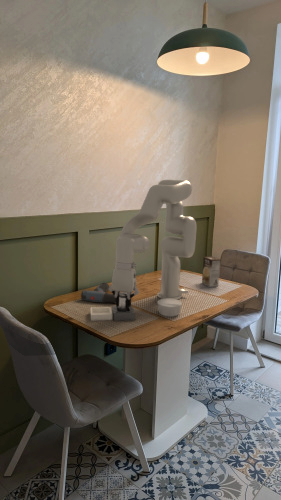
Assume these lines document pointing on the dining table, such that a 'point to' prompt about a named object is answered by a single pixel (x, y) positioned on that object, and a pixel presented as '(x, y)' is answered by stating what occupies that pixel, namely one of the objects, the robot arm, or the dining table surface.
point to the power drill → (99, 294)
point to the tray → (100, 313)
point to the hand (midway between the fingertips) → (123, 306)
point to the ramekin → (169, 307)
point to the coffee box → (211, 271)
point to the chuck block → (123, 314)
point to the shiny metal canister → (122, 302)
